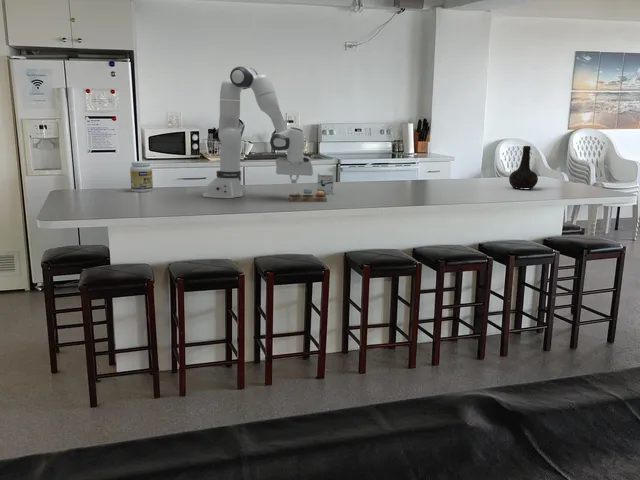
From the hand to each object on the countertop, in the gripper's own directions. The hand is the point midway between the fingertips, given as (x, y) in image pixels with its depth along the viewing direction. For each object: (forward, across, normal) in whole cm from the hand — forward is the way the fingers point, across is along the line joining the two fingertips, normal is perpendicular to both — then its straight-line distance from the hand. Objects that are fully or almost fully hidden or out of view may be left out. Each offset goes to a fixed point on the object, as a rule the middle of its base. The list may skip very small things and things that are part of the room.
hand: (293, 183), depth 330 cm
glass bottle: (+4, +152, +51) cm, 161 cm away
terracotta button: (+6, +15, 0) cm, 16 cm away
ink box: (+9, +20, +22) cm, 31 cm away
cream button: (+6, +1, 0) cm, 6 cm away
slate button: (+5, +8, 0) cm, 9 cm away
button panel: (+9, +8, 0) cm, 12 cm away
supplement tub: (+12, -87, +27) cm, 92 cm away
